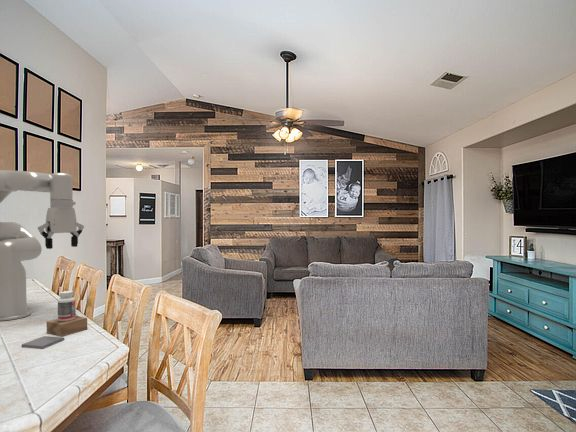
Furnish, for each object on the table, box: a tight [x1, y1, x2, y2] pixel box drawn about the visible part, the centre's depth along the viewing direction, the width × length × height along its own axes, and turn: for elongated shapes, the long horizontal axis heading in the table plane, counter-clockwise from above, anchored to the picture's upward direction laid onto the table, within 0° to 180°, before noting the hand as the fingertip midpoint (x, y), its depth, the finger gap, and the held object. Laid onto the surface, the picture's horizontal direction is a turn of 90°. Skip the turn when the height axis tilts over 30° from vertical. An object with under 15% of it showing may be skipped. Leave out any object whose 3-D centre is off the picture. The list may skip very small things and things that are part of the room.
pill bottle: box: [57, 290, 77, 321], centre depth 130 cm, size 5×5×10 cm
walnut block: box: [46, 315, 88, 337], centre depth 130 cm, size 9×9×4 cm
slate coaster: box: [21, 335, 65, 350], centre depth 117 cm, size 8×8×1 cm
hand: (62, 247), depth 146 cm, fingers open, 9 cm apart
